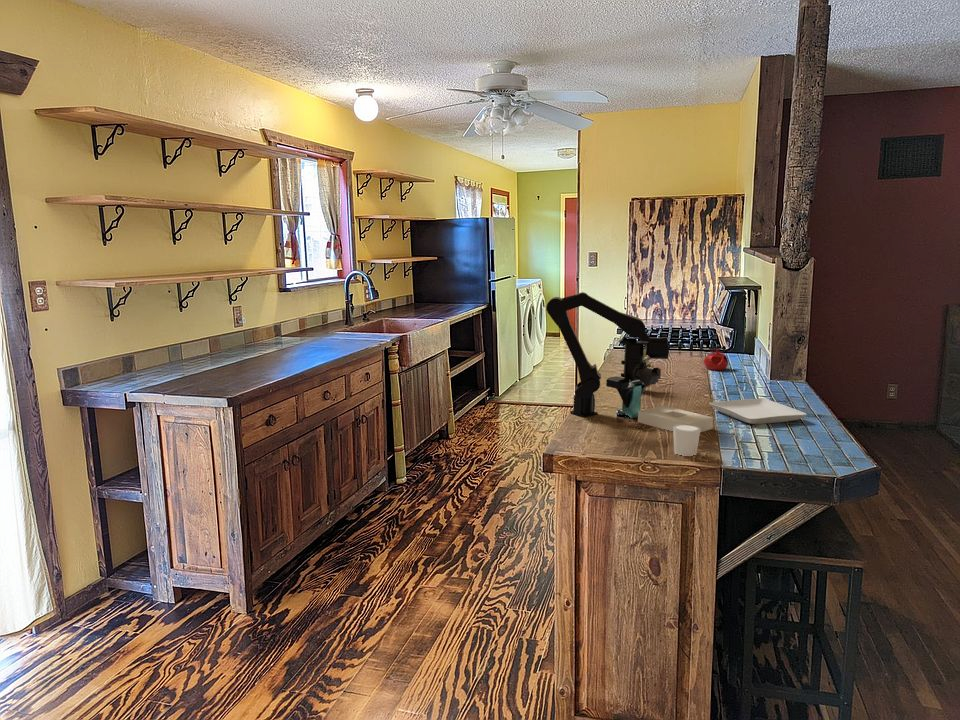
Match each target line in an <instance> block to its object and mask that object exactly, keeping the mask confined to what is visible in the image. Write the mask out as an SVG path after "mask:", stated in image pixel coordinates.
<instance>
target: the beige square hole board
mask: <svg viewBox="0 0 960 720" xmlns="http://www.w3.org/2000/svg"><path fill="white" fill-rule="evenodd" d="M637 423H640V424H644V425H646V426H651V427H654V428H658V429H661V430H664V429H665V431H668V430H669V431H668V432H672V431H673V426H675V425H692V426H696V427H699V428H700V433H703V432H708V431H709V430H713V427H714V417H713V416H709V415H705V414H701V413H695V412H692V411H687V410H684V409H679V408H676V407H672V406H666V405H659V406H654V407H651V408H646V409H643V410H641V409H640V411H638V417H637Z"/></svg>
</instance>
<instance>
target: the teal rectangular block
mask: <svg viewBox="0 0 960 720" xmlns="http://www.w3.org/2000/svg"><path fill="white" fill-rule="evenodd" d="M631 387H632V388H634V389H633V390H632V391H631V394H630V403H629V408H626V407H625V405H624V403H623V402H621V403H622V404H621V405H622V407H621V414H622V413H625V414H627V415H628V416H629V417H630V418H629V417H628V418H629V419H635V418H638V411H641V407H642V406H641V405H642V404H641V403H642V396H641V388H642V385H637V384H633V383H631Z"/></svg>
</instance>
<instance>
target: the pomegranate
mask: <svg viewBox="0 0 960 720" xmlns="http://www.w3.org/2000/svg"><path fill="white" fill-rule="evenodd" d="M719 350H720V348H716V350H715V351H713V350H710V351H709V353H708V354H706V356H704V359H703V364H704V366H705V368H706V369H707V368H708V369H707V370H710V371H714V370H717V371H718V370H719V371H724V370H726V369H727V367H728V365H729V361H728V357H727V356H726V354H725V353H724V352H722V351H719ZM717 371H716V372H717Z"/></svg>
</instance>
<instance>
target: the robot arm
mask: <svg viewBox="0 0 960 720" xmlns="http://www.w3.org/2000/svg"><path fill="white" fill-rule="evenodd" d="M579 307H583V308H585V309H587V310H590V312H592V313H594V314H596V315H598V316H600V317H602V318H604V319H606V320H607V321H609V322H611V323H613V324H614V325H616V326H617V327H618V328H620V329H621V330H622V331H623V332H624V333H625V334H626V335H628V336H629V337H627V336H626V335H623V336H622V338H620V339H619V340H618V343H619V344H620V345H624V360H621V363H620V364H621V365H622V364H624V365H623V372H622V373H620V376H616V375H615V376H611V377H608V378H607V379H606V380H605V381H606V383H605V386H606V387H607V388H611V389H616V391H617V392H618V394H619V397H620V398H621V400H622V403H624V405H625V407H626V408H629V403H630V394H631V391H632V390H633V389H634V388H632V387H631V383H633V384H637V385H642V388H641V397H642V396H643V393H644V392H645V391H644V389H645V390H646V389H647V388H648V387H650V386H651V385H656V383H659V380H660V379H661V374H662V373H661V370H662V369H661V368H660V367H656V366H655V367H654V368H653V367H650V368H649V367H646V365H647V363H646V362H644V361H643V350H644V348H645V356H647V357H649V360H652V359H654V360H655V359H656V360H669V353H670V352H669V351H670V350H669V338H668V337H667V336H662V337H654V336H653V337H651V336H650V335H649V333H648V332H646V325H645V322H643V320H642V319H641V318H639V317H637V316H634V315H631V314H626V313H623V312H621V311H619V310H616V309H615V308H612V307H611V306H609V305H607V304H606V303H604V302H602V301H599V300H598V299H596V298H594V297H593V296H590V295H589V294H588V293H586V292H584V291H582V292H579V293H577V294H573V295H569V296H565V297H559V296H554V297H552V298H551V299H550V300H549V301H548V302H547V303H546V312H547V314H548V315H549V316H550V318H551V319H552V321H553V322H554V323H555V325H556V326H557V327H558V328H559V330H560V332H561V335H562V336H563V339H564V341H565V343H566V346H567V348H568V351H569V352H570V354H571V357H572V359H573V361H574V363H575V364H576V367H577V371H578V376H579V379H580V381H579V382H578V383H577V384H576V385H575V390H574V393H575V394H574V395H573V410H570V411H569V413H570V412H571V413H570V414H572V415H575V416H580V417H590V416H594V415H597V414H598V411H595V407H596V405H595V403H596V399H595V394H594V393H595V392H597V391H598V390H599V389H600V387H601V379H602V374H601V373H600V372H599V370H598V367H597V363H595V364H593V365H592V364H591V363H590V361H589V360H588V358H587V356H586V354H585V352H584V349H583V346H582V345H581V342H580V340H579V339H578V336H577V334H576V332H575V330H574V328H573V325H572V323H571V321H570V317H569V316H570V315H569V311H570V310H573V309H575V308H579ZM630 337H631V338H630ZM637 339H639V340H640V341H639V340H638V341H637ZM644 346H645V347H644ZM643 391H644V392H643Z"/></svg>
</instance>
